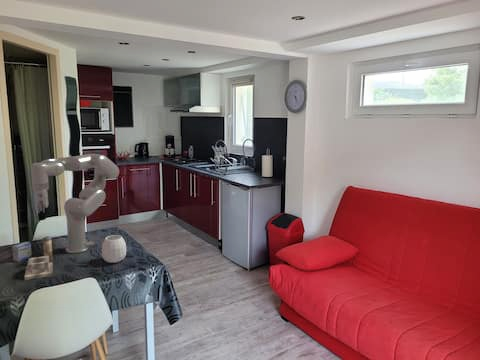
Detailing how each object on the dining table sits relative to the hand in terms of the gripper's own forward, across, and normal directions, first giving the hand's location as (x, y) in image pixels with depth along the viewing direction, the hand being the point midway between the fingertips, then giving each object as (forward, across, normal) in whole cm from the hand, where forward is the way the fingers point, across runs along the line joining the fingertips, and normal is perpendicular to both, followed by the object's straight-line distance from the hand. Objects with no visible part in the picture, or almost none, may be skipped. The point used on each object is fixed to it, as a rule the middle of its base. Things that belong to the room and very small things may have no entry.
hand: (42, 217), depth 190 cm
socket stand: (+25, -13, +2) cm, 29 cm away
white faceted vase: (+26, -10, -35) cm, 44 cm away
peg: (+25, -1, -1) cm, 25 cm away
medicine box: (+26, +8, +12) cm, 30 cm away
